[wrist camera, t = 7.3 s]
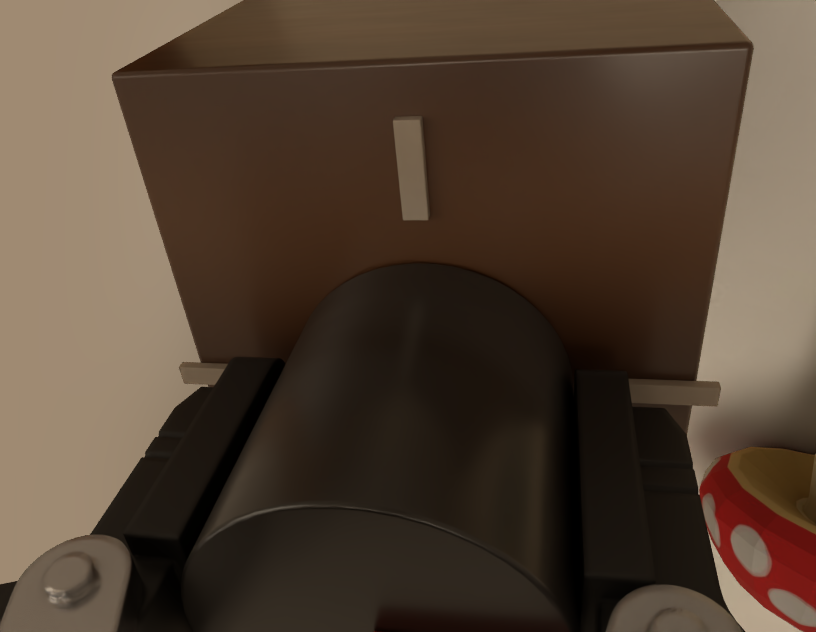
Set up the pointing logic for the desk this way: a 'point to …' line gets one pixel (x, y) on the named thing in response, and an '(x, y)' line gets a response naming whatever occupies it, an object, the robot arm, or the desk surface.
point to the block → (449, 166)
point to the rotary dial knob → (402, 472)
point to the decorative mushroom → (767, 527)
